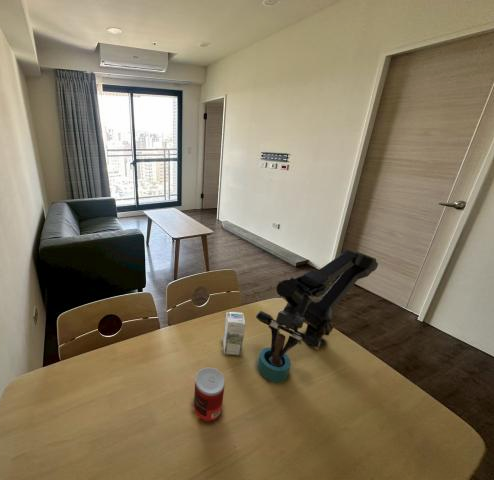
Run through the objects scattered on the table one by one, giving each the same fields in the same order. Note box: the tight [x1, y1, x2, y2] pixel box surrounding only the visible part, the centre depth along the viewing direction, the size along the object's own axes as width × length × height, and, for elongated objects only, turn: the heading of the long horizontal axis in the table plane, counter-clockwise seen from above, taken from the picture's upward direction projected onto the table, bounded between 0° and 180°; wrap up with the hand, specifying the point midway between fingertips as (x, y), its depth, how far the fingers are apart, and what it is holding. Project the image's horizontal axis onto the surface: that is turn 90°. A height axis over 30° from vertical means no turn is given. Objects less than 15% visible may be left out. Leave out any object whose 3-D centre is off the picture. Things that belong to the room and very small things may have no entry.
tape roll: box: [257, 346, 292, 383], centre depth 81 cm, size 9×9×5 cm
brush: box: [269, 333, 286, 367], centre depth 78 cm, size 4×4×13 cm
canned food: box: [193, 367, 226, 422], centre depth 68 cm, size 8×8×11 cm
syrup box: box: [222, 311, 247, 356], centre depth 87 cm, size 6×6×14 cm
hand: (275, 354), depth 77 cm, fingers closed on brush, 2 cm apart
